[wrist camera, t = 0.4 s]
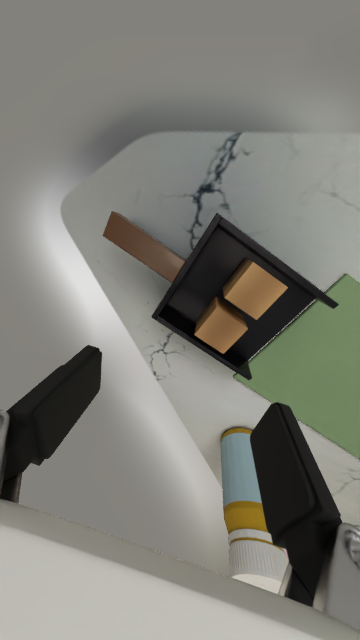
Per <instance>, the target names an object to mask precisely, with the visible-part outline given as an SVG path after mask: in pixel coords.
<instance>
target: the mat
mask: <svg viewBox="0 0 360 640" xmlns="http://www.w3.org/2000/svg"><path fill="white" fill-rule="evenodd" d="M325 294H326V295H327V296H329V297H330V298H331V299H333V300H334V301H335V302H337V303H338V304H339V305H338V306H337V307H336V308H335V309H332V308H331V307H329V306H327V305H325V304H323V303H322V302H320V301H318V300H316V301H315V302H314V303H313V304H312V305H310V306H309V307H308V308H307V309H306V310H305V311H304V312H303V313H302V314H301V315H299V316H298V317H297V318H296V319H295V320H294V321H293V322H292V323H291V324H290V325H288V326H287V327H286V328H285V329H284V330H283V331H282V332H281V333H280V334H279V335H277V336H276V337H275V338H274V339H273V340H272V341H271V342H270V343H269V344H268V345H267V346H265V347H264V348H263V349H262V350H261V351H260V352H259V353H258V354H257V355H256V356H254V357H253V358H252V359H251V360H250V361H249V362H248V365H249V368H250V372H251V375H252V379H251V380H247V379H246V378H244V377H243V376H241V375H240V374H238V373H236V374H235V375H234V376H233V377H234V378H235V379H237V380H238V381H240V382H241V383H243V384H244V385H246V386H248V387H249V388H251V389H252V390H254V391H255V392H257V393H258V394H260V395H261V396H263V397H265V398H266V399H268V400H269V401H271V402H272V403H276V402H279V403H282V404H285V405H288V406H290V408H291V410H292V412H293V414H294V416H295V417H296V418H297V419H299V420H300V421H302V422H303V423H305V424H306V425H308V426H309V427H311V428H313V429H314V430H316V431H317V432H319V433H320V434H322V435H323V436H325V437H327V438H328V439H330V440H331V441H333V442H334V443H336V444H337V445H339V446H340V447H342V448H344V449H345V450H347V451H348V452H350V453H351V454H353V455H354V456H356V457H358V458H359V459H360V283H359V282H357V281H356V280H355V279H354V278H352V277H351V276H350V275H348V274H344V275H343V276H342V277H341V278H340V279H339V280H338V281H337V282H336V283H335V284H333V285H332V286H331V287H330V288H329V289H328V290H327V291H326V292H325Z"/></svg>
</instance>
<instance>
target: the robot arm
mask: <svg viewBox="0 0 360 640" xmlns="http://www.w3.org/2000/svg"><path fill="white" fill-rule="evenodd" d="M101 361H102V352H100V351H99V348H96V347H93V346H90V345H88V346H86V347H85V348H83V349H82V350H81V351H80V352H79V353H78V354H76V355H75V356H74V357H73V358H72V359H71V360H69V361H68V362H67V363H66V364H65V365H62V366H60V367H59V368H57V369H56V370H55V371H54V372H52V374H50V375H49V376H48V377H47V378H46V379H44V380H43V381H42V382H41V383H39V384H38V385H37V386H36V387H35V388H33V389H32V390H31V391H30V392H29V393H28V394H26V395H25V396H24V397H23V398H22V399H20V400H19V401H18V402H17V403H16V404H14V405H13V406H12V407H11V408H10V409H9V410H7V411H6V412H5V411H3V410H0V640H360V529H358V528H357V527H355V526H353V525H352V524H349V523H342V520H341V518H340V516H341V515H340V513H339V511H338V509H337V506H336V504H335V502H334V500H333V498H332V496H331V493H330V491H329V489H328V487H327V485H326V483H325V481H324V478H323V476H322V474H321V472H320V470H319V468H318V466H317V463H316V461H315V459H314V457H313V455H312V453H311V450H310V448H309V446H308V444H307V442H306V440H305V438H304V435H303V433H302V431H301V429H300V427H299V425H298V422H297V420H296V418H295V416H294V414H293V412H292V410H291V408H290V406H288V405H285V404H282V403H279V402H276V403H274V404H271V405H270V407H269V408H268V410H267V411H266V413H265V414H264V415H263V417H262V418H261V420H260V421H259V423H258V424H257V426H256V427H255V429H254V430H253V431H252V433H251V435H250V443H251V449H252V454H253V459H254V465H255V470H256V475H257V481H258V486H259V491H260V496H261V502H262V507H263V512H264V518H265V523H266V528H267V530H268V532H269V534H271V538H272V543H273V545H275V546H278V547H281V548H284V549H286V551H287V555H288V559H289V562H288V565H287V568H286V571H285V574H284V577H283V580H282V583H281V586H280V589H279V592H278V594H276V593H273V592H270V591H268V590H265V589H262V588H259V587H257V586H254V585H251V584H248V583H245V582H243V581H240V580H237V579H234V578H231V577H229V576H226V575H223V574H220V573H217V572H214V571H212V570H209V569H206V568H203V567H201V566H198V565H195V564H192V563H189V562H186V561H183V560H181V559H178V558H175V557H172V556H169V555H166V554H163V553H161V552H158V551H155V550H152V549H149V548H147V547H143V546H141V545H138V544H135V543H132V542H129V541H127V540H124V539H121V538H118V537H115V536H112V535H109V534H106V533H104V532H101V531H97V530H95V529H92V528H89V527H86V526H83V525H80V524H77V523H75V522H72V521H69V520H66V519H63V518H60V517H57V516H54V515H51V514H48V513H45V512H42V511H39V510H36V509H32V508H29V507H26V506H23V505H20V504H18V502H19V494H20V486H21V478H22V472H24V470H25V469H26V468H27V467H28V465H29V464H30V463H33V464H36V465H41V463H42V462H43V461H44V459H48V458H49V457H51V455H52V454H53V453H54V452H55V450H56V449H57V447H58V446H59V445H60V443H61V442H62V441H63V439H64V438H65V437H66V435H67V434H68V433H69V431H70V430H71V428H72V427H73V426H74V424H75V423H76V422H77V420H78V419H79V418H80V416H81V415H82V414H83V412H84V411H85V410H86V408H87V407H88V405H89V404H90V403H91V401H92V400H93V399H94V397H95V396H96V394H97V393H98V391H99V389H100V383H101V382H100V381H101Z"/></svg>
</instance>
